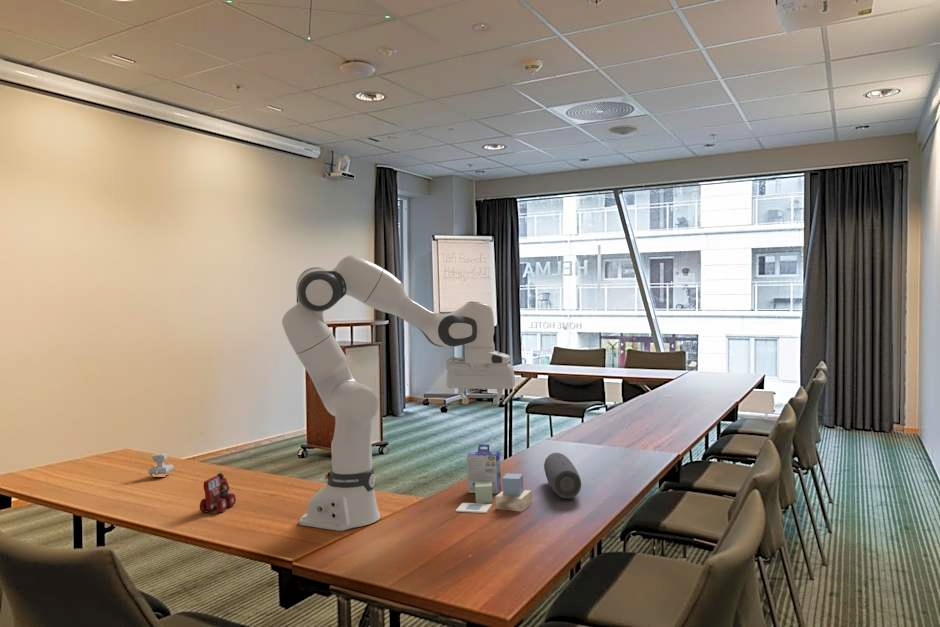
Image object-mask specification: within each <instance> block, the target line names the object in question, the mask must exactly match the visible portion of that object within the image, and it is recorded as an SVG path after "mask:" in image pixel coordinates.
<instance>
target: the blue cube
mask: <svg viewBox="0 0 940 627" xmlns="http://www.w3.org/2000/svg"><path fill="white" fill-rule="evenodd" d="M501 484H502V491H503V495H504V496H521V494H522V493H523V491H524V490H525V489H524V474H523V473H505V474H504V476H503V477H501Z"/></svg>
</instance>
